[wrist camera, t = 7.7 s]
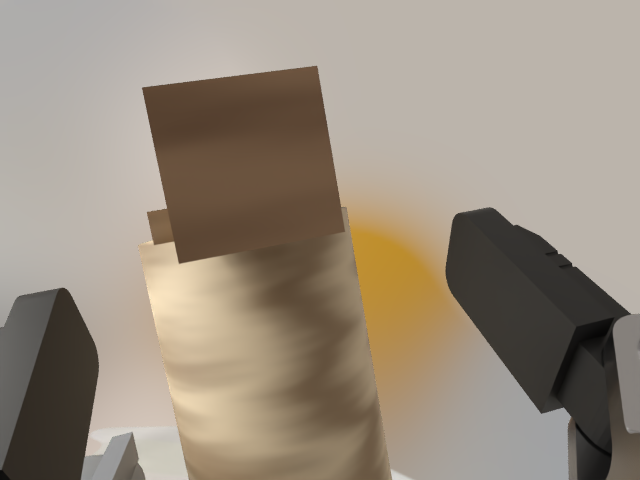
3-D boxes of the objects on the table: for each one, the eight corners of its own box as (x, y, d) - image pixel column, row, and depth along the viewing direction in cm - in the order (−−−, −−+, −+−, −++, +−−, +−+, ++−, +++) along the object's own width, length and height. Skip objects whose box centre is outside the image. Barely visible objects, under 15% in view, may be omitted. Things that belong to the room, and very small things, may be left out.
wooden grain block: (345, 231, 11) (317, 65, 11) (178, 263, 11) (142, 87, 10) (269, 216, 33) (258, 160, 32) (213, 226, 32) (201, 169, 32)
